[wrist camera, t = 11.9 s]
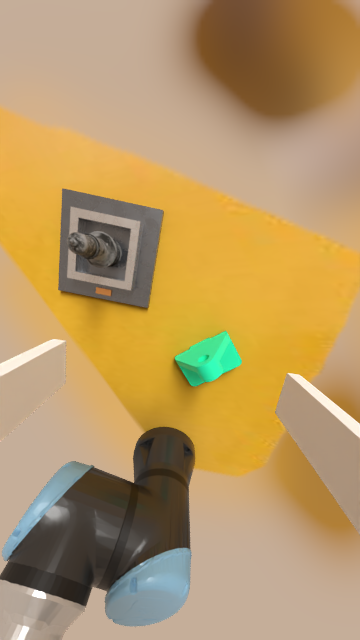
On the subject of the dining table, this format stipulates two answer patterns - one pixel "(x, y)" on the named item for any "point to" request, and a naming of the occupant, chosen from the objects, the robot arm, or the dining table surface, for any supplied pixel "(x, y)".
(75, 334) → the dining table surface
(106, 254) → the gray metallic stepped cylinder
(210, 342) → the camera mount
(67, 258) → the plate
